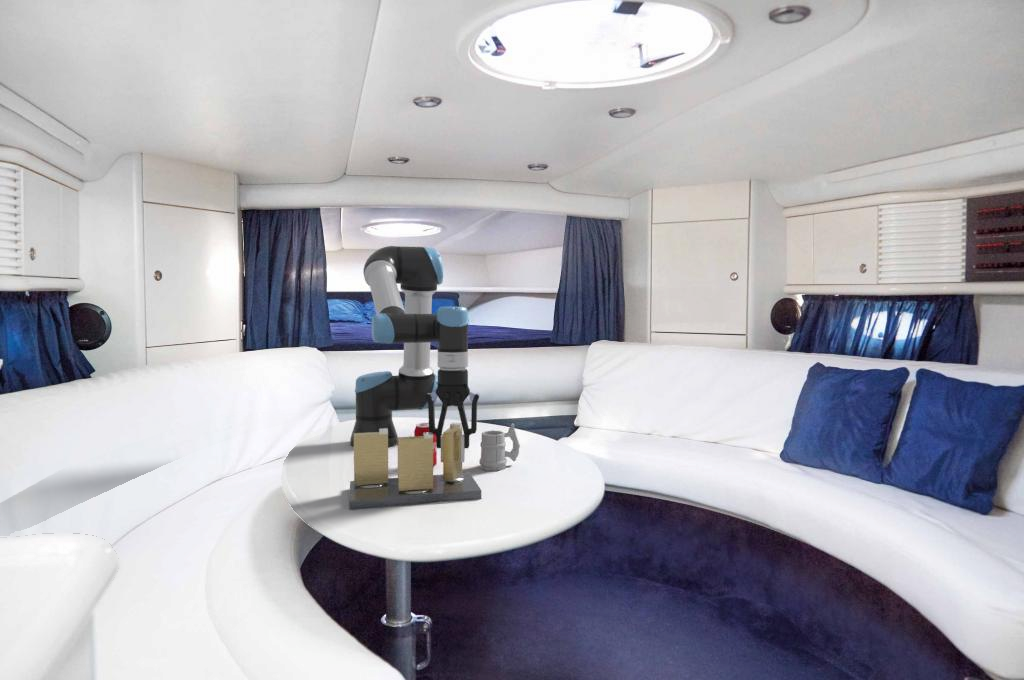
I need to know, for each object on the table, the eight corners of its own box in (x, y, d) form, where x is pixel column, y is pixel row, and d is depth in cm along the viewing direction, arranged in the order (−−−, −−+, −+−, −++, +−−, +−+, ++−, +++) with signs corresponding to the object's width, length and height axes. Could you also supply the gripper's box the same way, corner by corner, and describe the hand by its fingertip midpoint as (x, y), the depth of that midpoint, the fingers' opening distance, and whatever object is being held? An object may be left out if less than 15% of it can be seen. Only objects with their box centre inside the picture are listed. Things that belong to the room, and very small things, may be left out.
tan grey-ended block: (398, 491, 134) (398, 436, 133) (398, 487, 137) (397, 433, 136) (433, 488, 136) (433, 434, 135) (431, 484, 139) (431, 432, 138)
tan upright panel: (453, 481, 141) (453, 429, 141) (443, 480, 142) (442, 429, 141) (462, 472, 149) (462, 423, 149) (452, 471, 150) (452, 422, 149)
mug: (475, 465, 165) (475, 423, 164) (514, 461, 169) (514, 420, 169) (484, 472, 158) (484, 429, 157) (524, 468, 162) (524, 425, 162)
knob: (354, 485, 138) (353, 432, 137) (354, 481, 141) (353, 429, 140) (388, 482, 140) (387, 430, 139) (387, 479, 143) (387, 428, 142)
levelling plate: (350, 489, 143) (350, 479, 143) (469, 480, 151) (469, 471, 151) (349, 509, 129) (349, 499, 129) (481, 498, 136) (481, 488, 136)
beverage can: (432, 470, 160) (432, 427, 159) (411, 469, 161) (410, 426, 160) (439, 464, 166) (439, 423, 165) (419, 463, 167) (418, 422, 166)
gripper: (415, 370, 140) (415, 464, 142) (487, 370, 140) (486, 465, 142) (420, 366, 148) (420, 456, 149) (488, 367, 148) (488, 457, 149)
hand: (453, 460), depth 145 cm, fingers open, 4 cm apart
